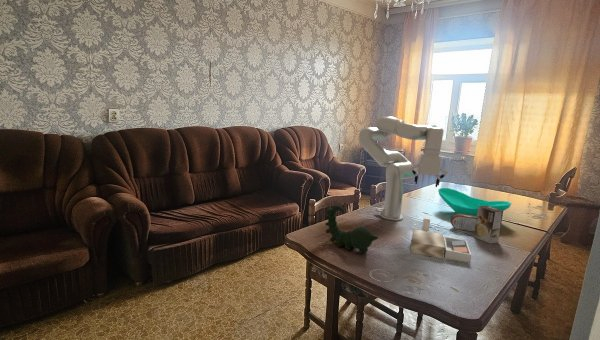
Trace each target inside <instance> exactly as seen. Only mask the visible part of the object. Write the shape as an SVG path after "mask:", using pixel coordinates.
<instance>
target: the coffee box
mask: <svg viewBox="0 0 600 340" xmlns="http://www.w3.org/2000/svg"><path fill="white" fill-rule="evenodd" d="M503 214H504V211H502V210H499V209H496V208H493V207H490V206H487V205H486V206H479V207H478V213H477V219H476V225H475V232H473V233H474V234H473V237H474V238H476V239H478V240H481V241H483V242H485V243H487V244H497V243H499V238H500V234H501V232H500V231H501V227H502V222H503V216H504V215H503Z"/></svg>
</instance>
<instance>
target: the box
mask: <svg viewBox="0 0 600 340" xmlns="http://www.w3.org/2000/svg"><path fill="white" fill-rule="evenodd" d="M443 239H444V244H445V251H444V258H443V259H444V260H448V261H449V260H450V261H453V262H459V263H462V264H463V263H464V264H470V265H471V259H472V252H471V250H470V246H469V243H468V240H465V239H461V238H455V237H449V236H444V235H443ZM462 240H464V242H465V246H466V248H467V251H468V254H467V253H462V252H457V251H454V250H453V246H452V241H462Z"/></svg>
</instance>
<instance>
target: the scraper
mask: <svg viewBox="0 0 600 340" xmlns="http://www.w3.org/2000/svg"><path fill="white" fill-rule="evenodd" d="M430 225H431V217H427V216H423V220H422V228H421V230H422V231H428V232H430Z"/></svg>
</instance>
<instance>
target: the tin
mask: <svg viewBox="0 0 600 340" xmlns="http://www.w3.org/2000/svg"><path fill="white" fill-rule="evenodd" d="M476 219H477V216H471V215H465V214H457V213H456V214H454V215H452V216H451V217H450V224H451V226H452V228H454V229H455V230H458V231H464V232H471V233H474V232H475V225H476Z"/></svg>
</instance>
